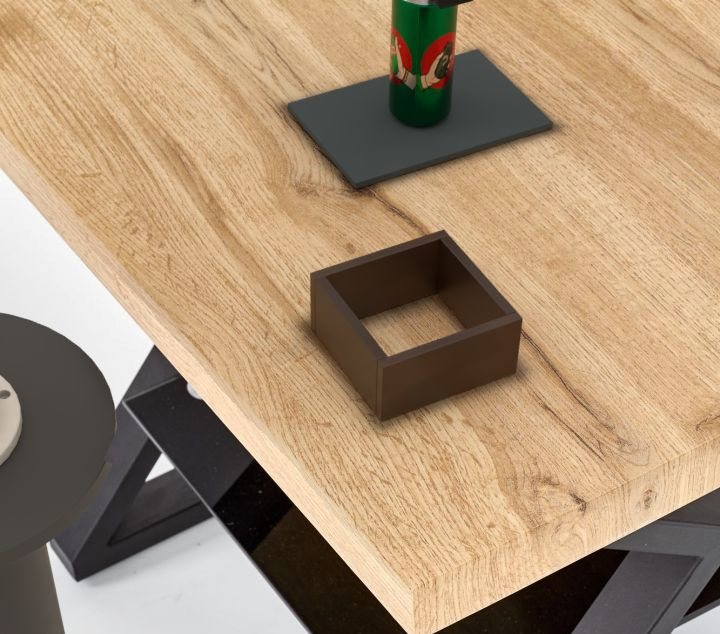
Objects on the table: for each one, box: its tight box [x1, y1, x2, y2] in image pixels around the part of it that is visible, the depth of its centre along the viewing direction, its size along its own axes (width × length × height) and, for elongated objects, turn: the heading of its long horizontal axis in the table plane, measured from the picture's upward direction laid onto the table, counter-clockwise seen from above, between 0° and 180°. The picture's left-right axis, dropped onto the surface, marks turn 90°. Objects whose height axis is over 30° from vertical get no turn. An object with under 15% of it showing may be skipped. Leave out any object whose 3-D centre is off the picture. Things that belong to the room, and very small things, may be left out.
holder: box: [309, 229, 524, 423], centre depth 108 cm, size 11×11×5 cm
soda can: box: [388, 0, 459, 127], centre depth 123 cm, size 5×5×12 cm
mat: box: [287, 48, 554, 190], centre depth 128 cm, size 18×12×1 cm, turn 118°
